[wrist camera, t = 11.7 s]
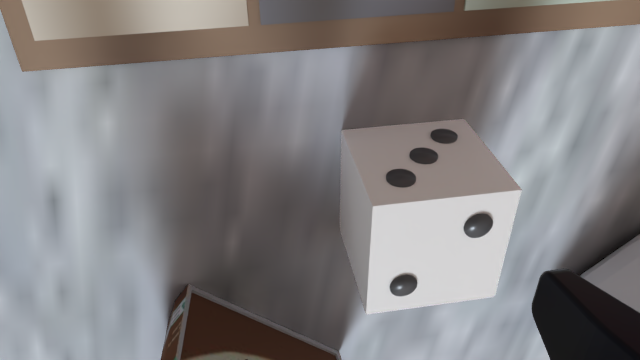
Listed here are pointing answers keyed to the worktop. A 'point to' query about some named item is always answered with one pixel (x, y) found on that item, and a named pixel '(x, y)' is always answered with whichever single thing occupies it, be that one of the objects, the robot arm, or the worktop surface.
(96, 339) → the worktop surface
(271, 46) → the game board
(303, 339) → the food container
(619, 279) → the soap bottle
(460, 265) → the die
